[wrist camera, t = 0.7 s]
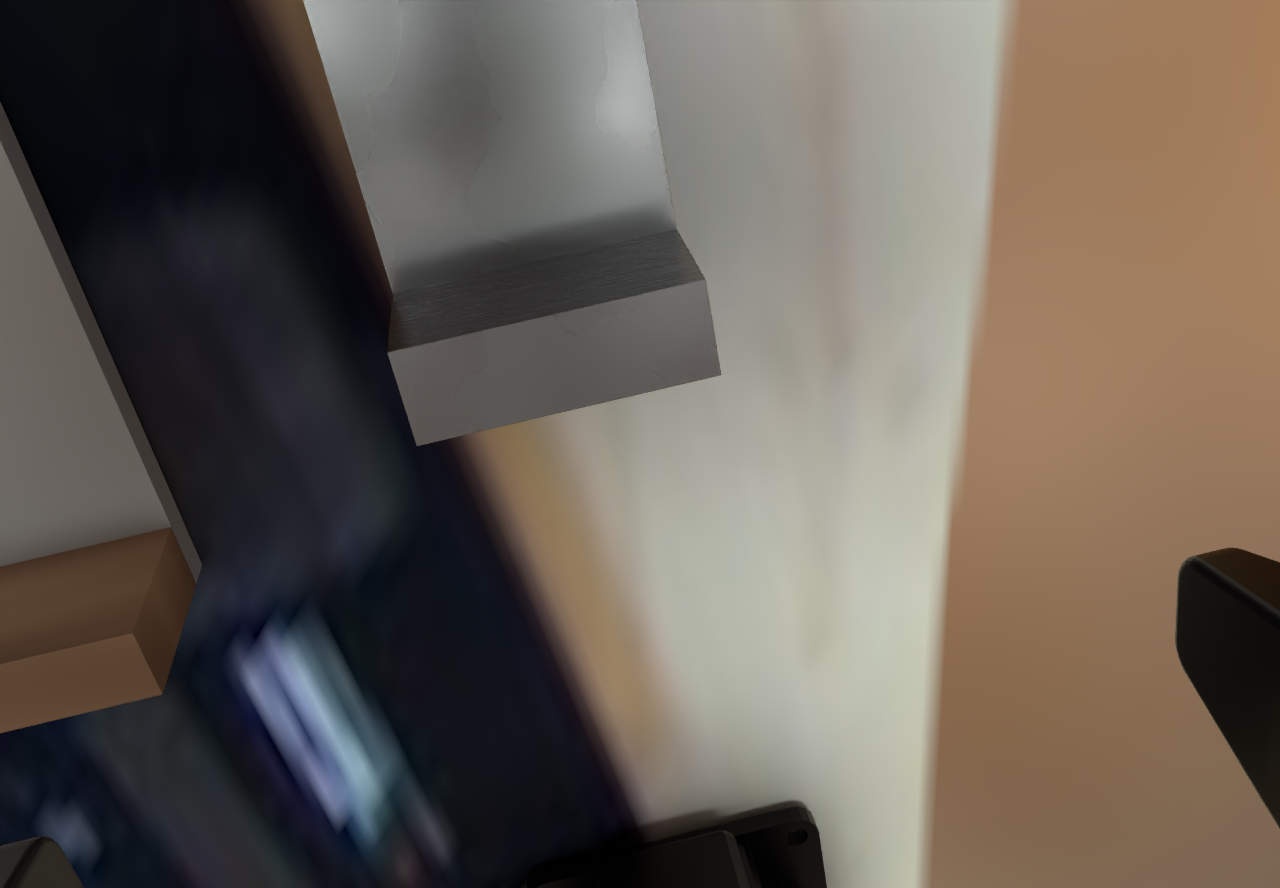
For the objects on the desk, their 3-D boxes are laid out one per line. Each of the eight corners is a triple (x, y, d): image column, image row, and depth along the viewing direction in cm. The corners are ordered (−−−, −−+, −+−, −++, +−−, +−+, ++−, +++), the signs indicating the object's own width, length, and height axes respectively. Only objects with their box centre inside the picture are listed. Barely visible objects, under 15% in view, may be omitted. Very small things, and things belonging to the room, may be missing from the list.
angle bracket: (675, 283, 21) (721, 375, 17) (420, 342, 20) (417, 446, 17) (594, -163, 17) (633, -157, 14) (288, -98, 17) (252, -75, 14)
